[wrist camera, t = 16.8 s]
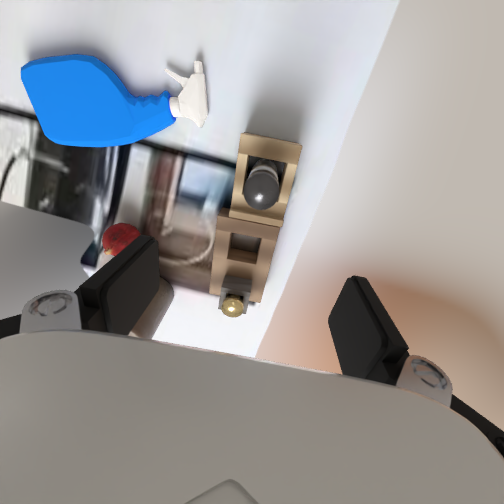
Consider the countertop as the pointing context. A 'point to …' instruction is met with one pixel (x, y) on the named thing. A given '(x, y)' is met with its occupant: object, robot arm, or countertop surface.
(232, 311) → the round brass peg
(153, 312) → the pillar candle
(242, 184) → the frame
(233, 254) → the socket block
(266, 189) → the capped metal cylinder
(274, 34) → the countertop surface
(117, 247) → the onion
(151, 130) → the spray bottle
